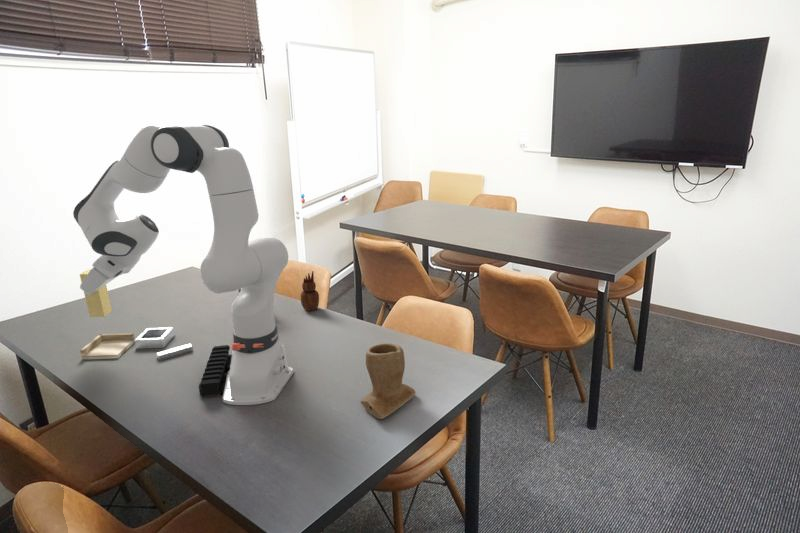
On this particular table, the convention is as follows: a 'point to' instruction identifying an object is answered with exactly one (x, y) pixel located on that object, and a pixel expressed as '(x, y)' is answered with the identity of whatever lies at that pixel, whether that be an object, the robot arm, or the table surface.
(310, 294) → the wooden figurine
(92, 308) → the yellow wooden block
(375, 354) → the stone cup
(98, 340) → the rack plate
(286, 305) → the table surface
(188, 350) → the gray rectangular bar
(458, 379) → the table surface
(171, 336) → the socket collar
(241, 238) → the robot arm
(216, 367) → the rail mount
